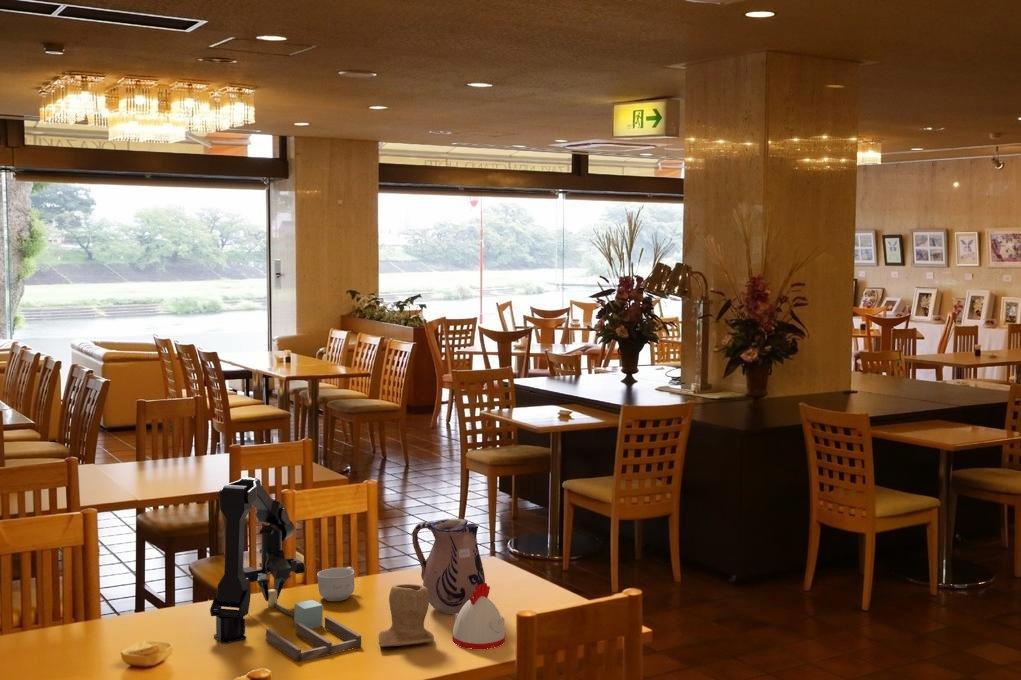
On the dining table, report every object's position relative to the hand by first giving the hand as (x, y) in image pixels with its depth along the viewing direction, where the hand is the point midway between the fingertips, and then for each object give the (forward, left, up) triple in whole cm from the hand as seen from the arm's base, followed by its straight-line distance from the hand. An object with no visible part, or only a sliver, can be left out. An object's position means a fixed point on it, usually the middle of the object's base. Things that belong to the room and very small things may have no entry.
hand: (271, 600), depth 318 cm
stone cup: (+16, -46, -2) cm, 49 cm away
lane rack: (-4, -34, -2) cm, 34 cm away
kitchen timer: (+33, -56, -2) cm, 65 cm away
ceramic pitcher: (+40, -31, -2) cm, 50 cm away
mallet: (0, -12, -2) cm, 12 cm away
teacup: (+20, -4, -2) cm, 20 cm away
